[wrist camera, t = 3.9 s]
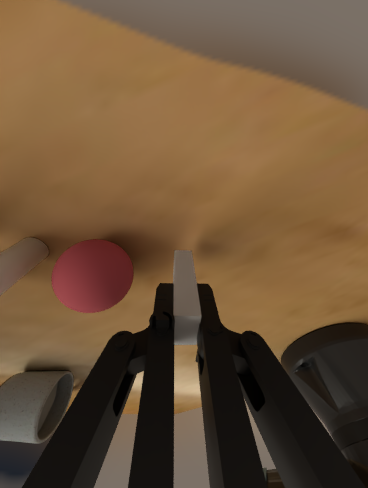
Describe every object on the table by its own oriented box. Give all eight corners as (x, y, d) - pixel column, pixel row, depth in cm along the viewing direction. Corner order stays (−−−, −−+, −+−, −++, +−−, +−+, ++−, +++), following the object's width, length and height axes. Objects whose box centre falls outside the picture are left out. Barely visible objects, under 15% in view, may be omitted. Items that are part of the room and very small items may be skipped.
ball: (30, 316, 13) (73, 263, 18) (111, 335, 14) (130, 281, 19) (29, 261, 10) (82, 215, 14) (132, 292, 11) (148, 242, 16)
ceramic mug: (11, 362, 26) (-46, 437, 19) (65, 361, 26) (28, 434, 20) (38, 390, 31) (2, 456, 25) (83, 389, 32) (59, 454, 25)
